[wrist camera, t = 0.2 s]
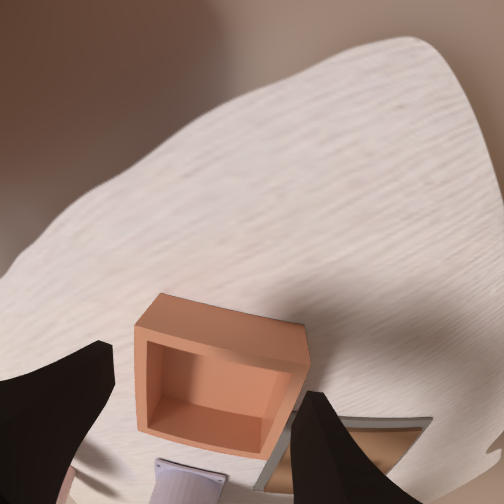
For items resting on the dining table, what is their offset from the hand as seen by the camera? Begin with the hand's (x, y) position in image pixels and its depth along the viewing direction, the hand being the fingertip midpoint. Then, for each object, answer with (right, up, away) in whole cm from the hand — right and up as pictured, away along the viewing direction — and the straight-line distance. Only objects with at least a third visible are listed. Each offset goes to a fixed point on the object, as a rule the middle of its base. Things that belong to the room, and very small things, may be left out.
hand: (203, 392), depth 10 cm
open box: (-1, -4, +11) cm, 12 cm away
